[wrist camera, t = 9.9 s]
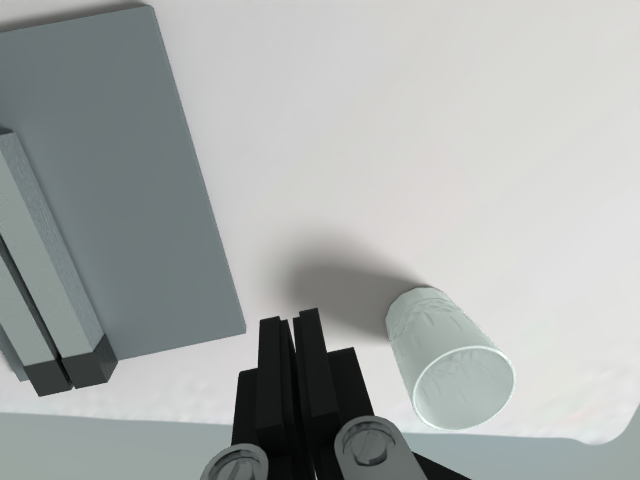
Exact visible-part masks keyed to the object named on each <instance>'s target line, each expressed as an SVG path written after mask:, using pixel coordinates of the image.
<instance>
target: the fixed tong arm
mask: <svg viewBox="0 0 640 480" xmlns="http://www.w3.org/2000/svg"><path fill="white" fill-rule="evenodd" d="M0 323H1V325H2V327H3V329H4V330H5V332H6V334H7V336H8V338H9V339H10V341H11V343H12V345H13V347H14V348H15V350H16V352H17V354H18V356H19V357H20V359H21V361H22V363H23V364H24V367H23V369H24V371H25V373H26V374H27V376H28V378H29V380H30V382H31V383H32V385H33V387H34V389H35V390H36V392H37V394H38V396H39V397H41V396H46V395H50V394H55V393H59V392H64V391H69V390H71V389H72V388H73V386H74V385H73V383H72V381H71V379H70V377H69V375H68V373H67V371H66V369H65V367H64V365H63V363H62V361H61V359H62V356H61V354H60V352H59V350H58V348H57V346H56V344H55V342H54V340H53V338H52V336H51V334H50V332H49V330H48V328H47V326H46V324H45V322H44V320H43V318H42V316H41V314H40V312H39V310H38V308H37V306H36V304H35V302H34V300H33V298H32V296H31V294H30V292H29V290H28V288H27V286H26V284H25V282H24V280H23V278H22V276H21V273H20V271H19V269H18V267H17V265H16V263H15V261H14V259H13V257H12V255H11V253H10V251H9V249H8V247H7V245H6V243H5V241H4V239H3V237H2V235H1V233H0Z"/></svg>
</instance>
